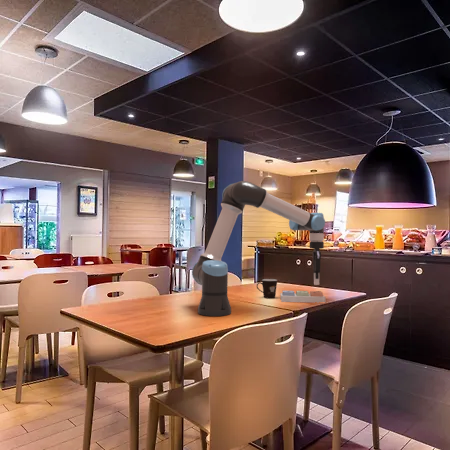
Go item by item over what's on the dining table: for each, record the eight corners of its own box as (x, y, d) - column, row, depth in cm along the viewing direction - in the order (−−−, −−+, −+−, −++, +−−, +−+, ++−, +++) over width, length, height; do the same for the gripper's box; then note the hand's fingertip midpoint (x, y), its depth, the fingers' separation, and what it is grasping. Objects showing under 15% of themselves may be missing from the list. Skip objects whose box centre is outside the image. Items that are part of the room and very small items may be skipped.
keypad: (281, 301, 207) (281, 296, 207) (280, 298, 217) (280, 293, 217) (325, 302, 206) (325, 297, 206) (322, 299, 216) (322, 294, 216)
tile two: (297, 298, 209) (297, 292, 209) (296, 296, 215) (296, 290, 215) (308, 298, 208) (308, 292, 208) (307, 296, 214) (307, 290, 214)
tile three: (311, 298, 208) (311, 292, 208) (309, 296, 214) (309, 290, 214) (322, 298, 208) (322, 292, 208) (320, 296, 214) (321, 290, 214)
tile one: (283, 297, 209) (283, 291, 209) (282, 295, 215) (282, 290, 215) (294, 298, 209) (294, 292, 209) (293, 296, 215) (293, 290, 215)
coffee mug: (276, 296, 224) (277, 279, 224) (277, 299, 215) (277, 281, 215) (256, 296, 225) (256, 278, 225) (256, 298, 216) (256, 280, 216)
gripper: (325, 241, 205) (325, 286, 204) (321, 240, 218) (321, 283, 217) (311, 241, 205) (311, 286, 205) (308, 240, 218) (308, 283, 218)
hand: (316, 284), depth 211 cm, fingers closed
